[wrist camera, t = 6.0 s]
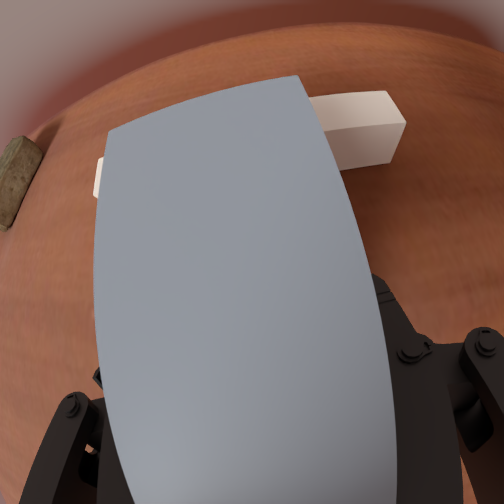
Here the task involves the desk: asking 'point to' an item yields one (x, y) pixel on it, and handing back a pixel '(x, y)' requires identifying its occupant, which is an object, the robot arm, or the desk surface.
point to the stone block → (16, 176)
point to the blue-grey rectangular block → (239, 309)
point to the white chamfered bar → (350, 129)
